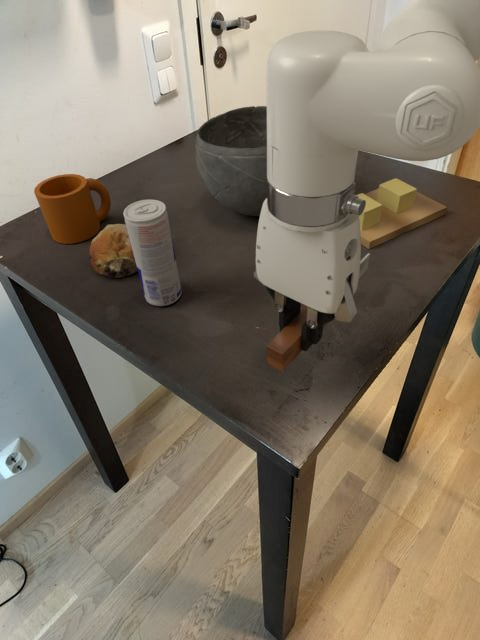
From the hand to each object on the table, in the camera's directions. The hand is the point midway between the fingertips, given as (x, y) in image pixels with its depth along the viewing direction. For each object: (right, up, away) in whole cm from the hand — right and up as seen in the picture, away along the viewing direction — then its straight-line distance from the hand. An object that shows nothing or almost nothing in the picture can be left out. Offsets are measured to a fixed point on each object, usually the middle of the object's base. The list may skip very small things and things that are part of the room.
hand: (299, 337), depth 54 cm
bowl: (-4, +24, +34) cm, 42 cm away
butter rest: (+21, +23, +29) cm, 42 cm away
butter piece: (+14, +19, +26) cm, 35 cm away
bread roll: (-27, +12, +24) cm, 37 cm away
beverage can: (-19, +5, +17) cm, 26 cm away
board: (+19, +21, +29) cm, 40 cm away
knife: (+4, +3, +3) cm, 6 cm away
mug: (-36, +19, +32) cm, 51 cm away
